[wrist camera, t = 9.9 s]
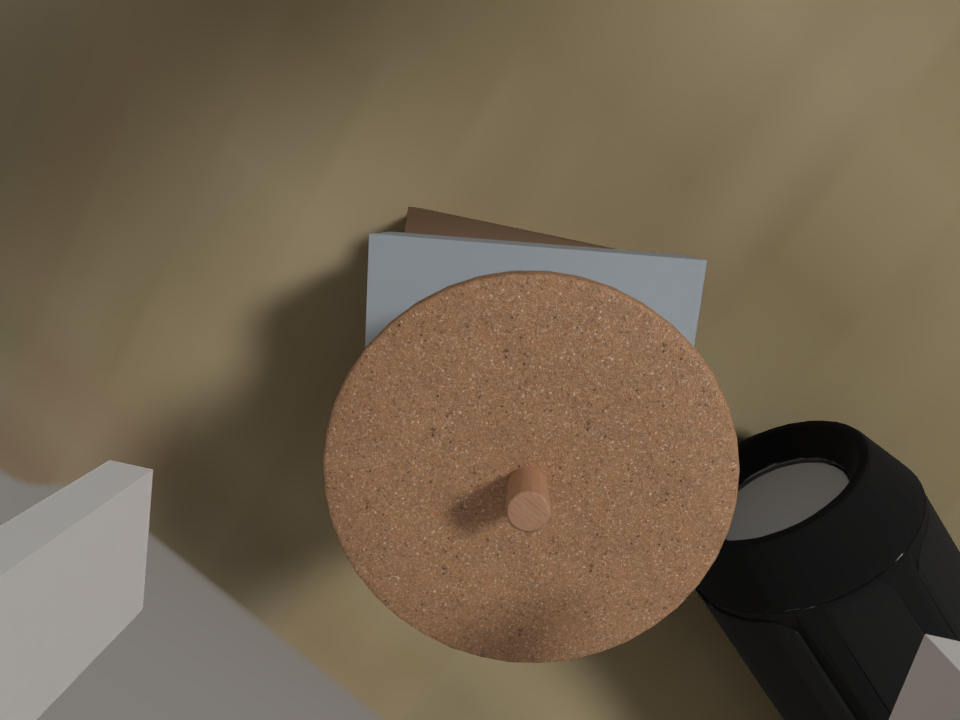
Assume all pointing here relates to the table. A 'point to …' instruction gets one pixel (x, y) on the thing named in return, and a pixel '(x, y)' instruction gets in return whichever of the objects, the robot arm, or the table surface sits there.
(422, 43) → the table surface
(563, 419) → the lidded jar
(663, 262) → the tower top
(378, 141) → the table surface
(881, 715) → the portable speaker
